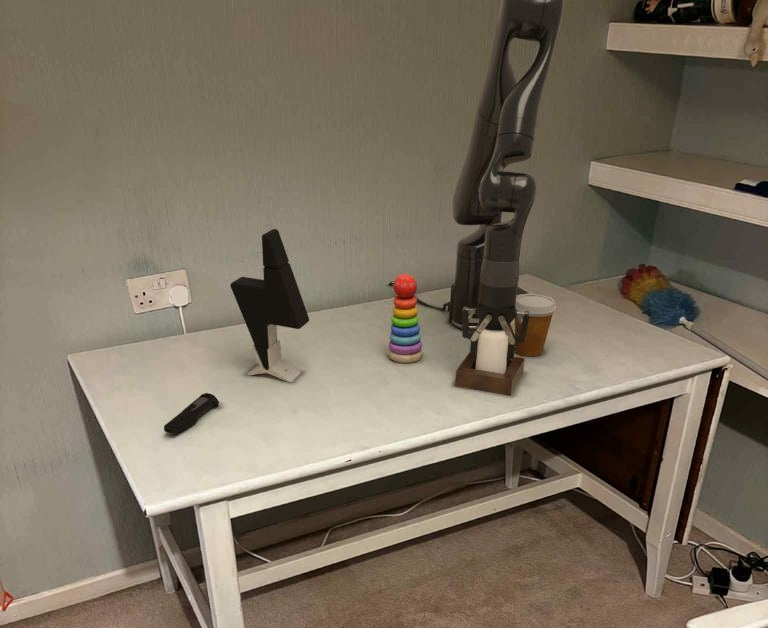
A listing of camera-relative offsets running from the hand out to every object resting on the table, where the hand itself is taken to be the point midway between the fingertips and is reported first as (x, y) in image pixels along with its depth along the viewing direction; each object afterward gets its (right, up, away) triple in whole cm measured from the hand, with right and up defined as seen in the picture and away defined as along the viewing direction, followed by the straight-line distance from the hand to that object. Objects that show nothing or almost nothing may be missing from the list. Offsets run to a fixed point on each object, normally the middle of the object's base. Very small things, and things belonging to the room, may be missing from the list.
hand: (491, 357), depth 163 cm
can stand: (0, -4, +3) cm, 5 cm away
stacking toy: (-18, +2, +12) cm, 22 cm away
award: (-46, -3, +4) cm, 46 cm away
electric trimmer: (-59, -15, -14) cm, 63 cm away
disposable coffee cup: (+11, +5, +16) cm, 20 cm away
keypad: (+10, +23, +43) cm, 50 cm away
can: (0, -4, +3) cm, 5 cm away
